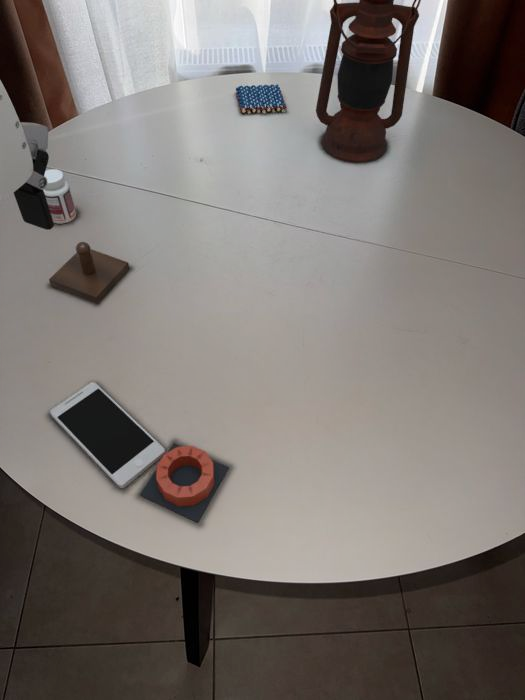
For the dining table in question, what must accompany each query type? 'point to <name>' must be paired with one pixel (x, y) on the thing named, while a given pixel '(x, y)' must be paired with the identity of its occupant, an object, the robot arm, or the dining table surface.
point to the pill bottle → (59, 197)
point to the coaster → (184, 478)
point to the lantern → (364, 77)
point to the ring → (185, 493)
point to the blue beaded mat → (260, 98)
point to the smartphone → (108, 434)
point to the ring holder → (89, 273)
